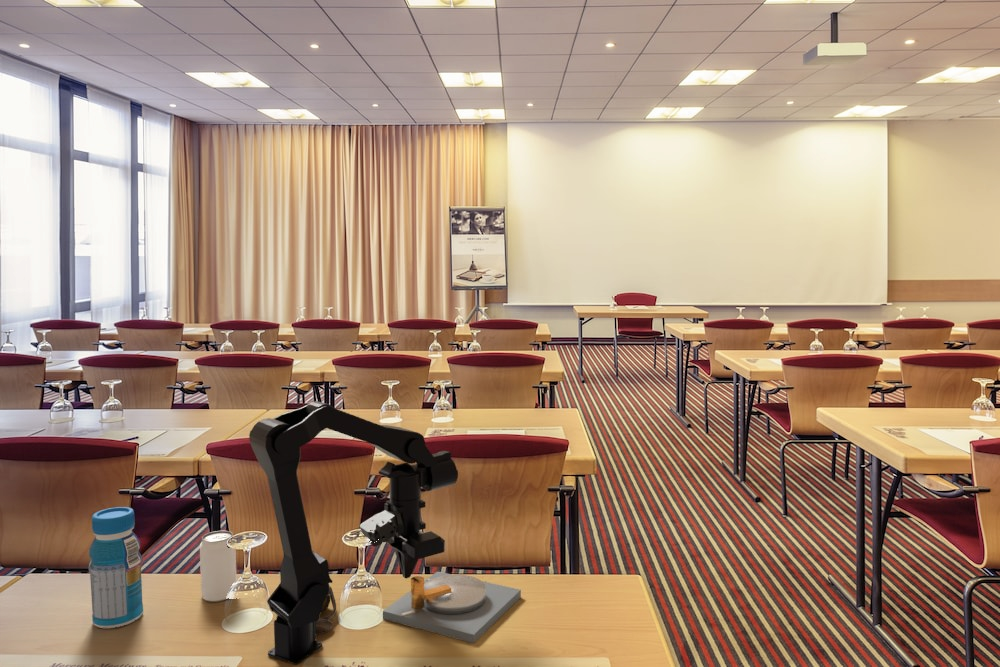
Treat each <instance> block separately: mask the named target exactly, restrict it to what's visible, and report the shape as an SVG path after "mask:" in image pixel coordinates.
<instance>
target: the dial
mask: <svg viewBox="0 0 1000 667" xmlns="http://www.w3.org/2000/svg"><path fill="white" fill-rule="evenodd" d="M424 581H425V578H424V577H423V576H420V575H417V576H413V577H410V591H411V608H412V609H415V610H420V609H423V608H424V606H425V607H426V608H428V609H430V610H432V611H435V612H438V613H444V614H459V613H465V612H469V611H472V610H475V609H477V608H479V607H480V606H482V605H483V604H484V602H485V600H486V587H485V584H484V583H483V582H484V581H483V582H482V580H480V578H477V577H475V576H471V575H467V574H452V575H445V576H440V577H436V578H434V579H431V580H429V581H428V582H426V583H425V584H424Z"/></svg>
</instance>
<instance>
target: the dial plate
mask: <svg viewBox="0 0 1000 667" xmlns="http://www.w3.org/2000/svg"><path fill="white" fill-rule="evenodd" d="M445 575H453V574H451V573H445V572H442V571H436V572H435V573H433V574H432V575H430V576H429V577H428V578H426V579H424V584H425V583H426V582H428V581H429V580H431V579H434V578H436V577H440V576H445ZM481 581H482V580H481ZM482 582H483V583H484V584H485V587H486V600H485V602H484V604H483V605H482V606H480V607H479V608H477V609H475V610H472V611H469V612H465V613H459V614H444V613H438V612H435V611H432V610H430V609H428V608H426V607H425V606H424V608H423V609H420V610H415V609H412V608H411V590H410V591H408V592H407V593H406V594H404V595H403V596H401V597H400V598H398V599H397V600H396V601H395V602H393V603H392V604H390V605H389V606H388V607H386V608H385V609H383V610H382V620H385V621H389V622H393V623H397V624H399V625H404V626H408V627H412V628H415V629H419V630H424V631H427V632H430V633H434V634H438V635H442V636H444V637H445V636H446V637H449V638H453V639H456V640H460V641H464V642H467V643H472V644H475V643H476V642H477V641H478V640H479V639H480V637H482V636H483V635H484V634H485V633H487V631H488V630H489V629H490V628H491V627H492V626H493V625H494V624H495V623H496V622H498V620H499V619H500V618H501V617H502V616H503V615H505V613H506V612H507V611H508V610H509V609H510V608H511V607H513V605H515V604H516V603H517V602H518V600H519V599H520V598H521V597H522V590H521V589H519V588H514V587H509V586H506V585H502V584H501V585H500V584H496V583H492V582H487V581H482Z"/></svg>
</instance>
